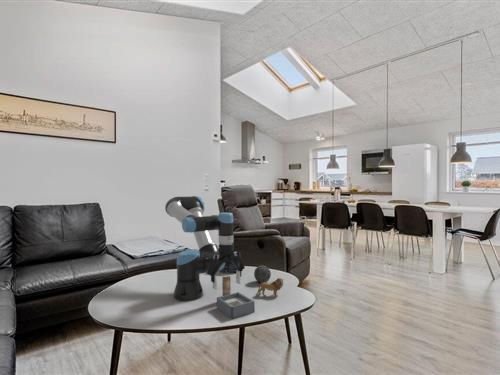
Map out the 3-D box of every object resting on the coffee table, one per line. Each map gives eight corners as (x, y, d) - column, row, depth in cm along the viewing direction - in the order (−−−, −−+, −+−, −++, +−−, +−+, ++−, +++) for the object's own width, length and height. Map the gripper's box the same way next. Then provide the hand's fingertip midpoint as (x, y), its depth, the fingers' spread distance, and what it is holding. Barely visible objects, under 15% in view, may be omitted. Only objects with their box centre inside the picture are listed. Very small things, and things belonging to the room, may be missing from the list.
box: (216, 307, 139) (216, 297, 139) (238, 302, 146) (238, 292, 146) (231, 318, 127) (231, 307, 127) (254, 312, 134) (254, 301, 134)
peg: (221, 300, 148) (220, 276, 148) (228, 298, 150) (227, 275, 150) (225, 303, 145) (224, 278, 145) (232, 301, 147) (231, 277, 147)
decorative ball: (256, 285, 170) (256, 268, 170) (252, 280, 180) (252, 264, 180) (273, 284, 172) (272, 267, 172) (268, 279, 182) (267, 263, 182)
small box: (241, 270, 202) (241, 253, 202) (238, 273, 195) (237, 255, 195) (223, 269, 205) (223, 252, 205) (219, 271, 199) (219, 254, 199)
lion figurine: (282, 293, 158) (282, 276, 158) (284, 296, 153) (284, 279, 153) (255, 294, 157) (255, 277, 157) (256, 297, 152) (256, 280, 152)
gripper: (206, 247, 138) (207, 293, 137) (250, 241, 151) (251, 283, 151) (200, 245, 144) (200, 288, 144) (243, 239, 158) (243, 279, 157)
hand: (226, 286), depth 147 cm, fingers open, 13 cm apart
